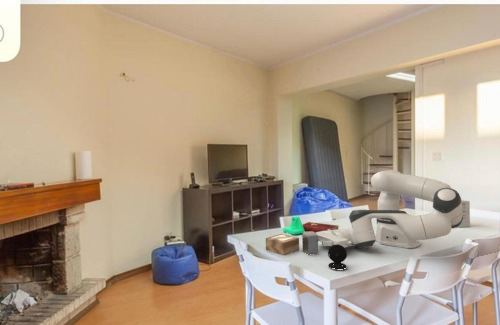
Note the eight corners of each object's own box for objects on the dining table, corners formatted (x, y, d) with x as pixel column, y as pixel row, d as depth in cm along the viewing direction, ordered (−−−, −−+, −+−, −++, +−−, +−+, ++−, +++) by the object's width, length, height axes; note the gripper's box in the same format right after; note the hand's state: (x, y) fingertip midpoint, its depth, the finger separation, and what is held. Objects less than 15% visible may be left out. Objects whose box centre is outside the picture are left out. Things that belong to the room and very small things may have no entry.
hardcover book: (332, 236, 180) (332, 229, 180) (300, 231, 193) (300, 224, 193) (339, 231, 190) (339, 225, 190) (308, 227, 202) (308, 221, 202)
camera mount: (282, 232, 190) (282, 216, 190) (291, 230, 195) (291, 214, 194) (294, 236, 180) (294, 219, 180) (304, 234, 184) (304, 217, 184)
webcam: (346, 265, 131) (346, 242, 131) (347, 271, 124) (347, 247, 123) (328, 264, 133) (327, 241, 133) (328, 270, 126) (327, 246, 125)
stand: (299, 249, 154) (299, 237, 154) (283, 255, 146) (283, 242, 145) (281, 244, 163) (281, 233, 162) (265, 249, 154) (265, 237, 154)
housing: (312, 250, 152) (311, 230, 152) (318, 253, 147) (318, 233, 147) (302, 252, 150) (302, 232, 150) (308, 255, 145) (308, 234, 145)
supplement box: (470, 227, 194) (470, 201, 194) (455, 227, 194) (455, 201, 194) (460, 223, 204) (460, 199, 203) (446, 224, 204) (446, 199, 204)
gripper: (354, 249, 144) (330, 253, 139) (328, 240, 163) (306, 243, 158) (353, 236, 144) (329, 239, 139) (328, 228, 163) (306, 231, 158)
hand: (317, 241), depth 149 cm, fingers open, 8 cm apart
